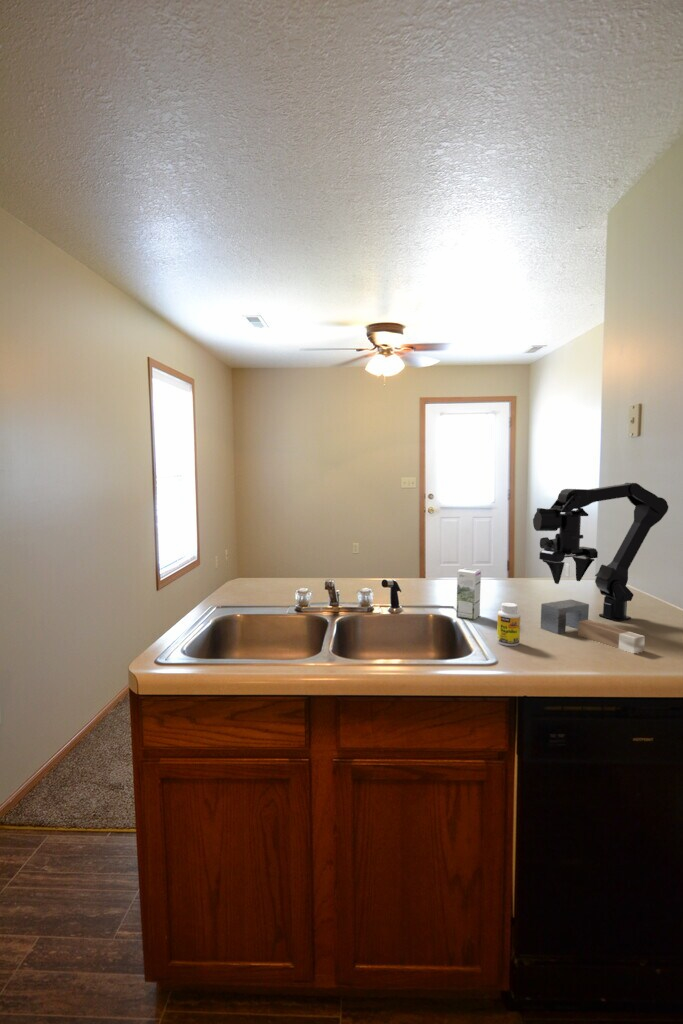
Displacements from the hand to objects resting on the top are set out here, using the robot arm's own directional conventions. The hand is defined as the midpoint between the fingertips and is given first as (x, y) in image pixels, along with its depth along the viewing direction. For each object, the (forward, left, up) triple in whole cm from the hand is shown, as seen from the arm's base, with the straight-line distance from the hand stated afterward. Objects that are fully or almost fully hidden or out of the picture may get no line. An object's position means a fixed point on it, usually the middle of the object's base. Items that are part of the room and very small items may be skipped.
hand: (567, 582), depth 158 cm
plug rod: (+9, +21, -11) cm, 26 cm away
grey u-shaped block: (+9, +7, -11) cm, 16 cm away
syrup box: (+26, -14, -11) cm, 32 cm away
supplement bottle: (+33, +10, -11) cm, 36 cm away
